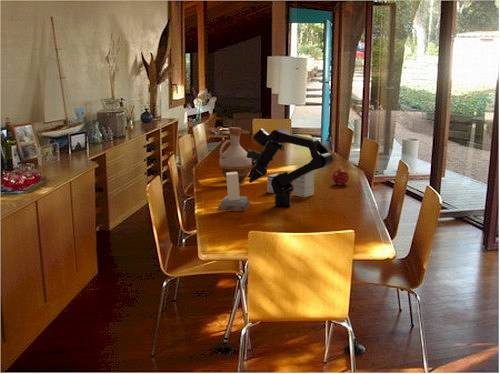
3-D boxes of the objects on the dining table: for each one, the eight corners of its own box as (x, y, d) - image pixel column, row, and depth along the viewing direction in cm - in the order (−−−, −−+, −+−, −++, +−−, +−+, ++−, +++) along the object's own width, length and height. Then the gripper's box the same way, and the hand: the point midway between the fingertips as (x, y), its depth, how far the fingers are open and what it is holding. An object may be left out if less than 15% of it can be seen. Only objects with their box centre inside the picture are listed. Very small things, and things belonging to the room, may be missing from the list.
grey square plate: (249, 205, 251) (249, 200, 250) (244, 212, 239) (244, 207, 239) (224, 204, 253) (224, 199, 252) (218, 211, 242) (218, 206, 241)
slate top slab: (247, 200, 249) (247, 196, 249) (243, 206, 240) (243, 202, 239) (226, 200, 251) (226, 195, 251) (221, 205, 242) (221, 201, 241)
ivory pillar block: (238, 197, 247) (236, 171, 245) (239, 199, 243) (238, 173, 240) (228, 198, 247) (226, 172, 244) (228, 200, 242) (226, 174, 239)
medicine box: (276, 189, 278) (276, 173, 276) (283, 190, 275) (283, 174, 273) (267, 192, 272) (267, 175, 270) (274, 193, 269) (274, 176, 267)
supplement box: (302, 192, 271) (302, 168, 268) (314, 195, 266) (314, 170, 263) (293, 195, 266) (293, 170, 263) (304, 197, 261) (304, 172, 258)
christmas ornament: (330, 185, 284) (330, 167, 282) (335, 182, 292) (335, 164, 290) (345, 187, 281) (346, 168, 278) (350, 183, 288) (351, 165, 286)
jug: (231, 186, 284) (229, 130, 277) (210, 181, 297) (209, 127, 290) (258, 181, 297) (257, 127, 290) (237, 176, 310) (236, 124, 303)
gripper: (254, 139, 253) (235, 165, 256) (255, 146, 235) (235, 175, 238) (273, 152, 255) (253, 178, 258) (275, 161, 237) (255, 188, 240)
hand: (249, 179), depth 249 cm, fingers open, 9 cm apart
